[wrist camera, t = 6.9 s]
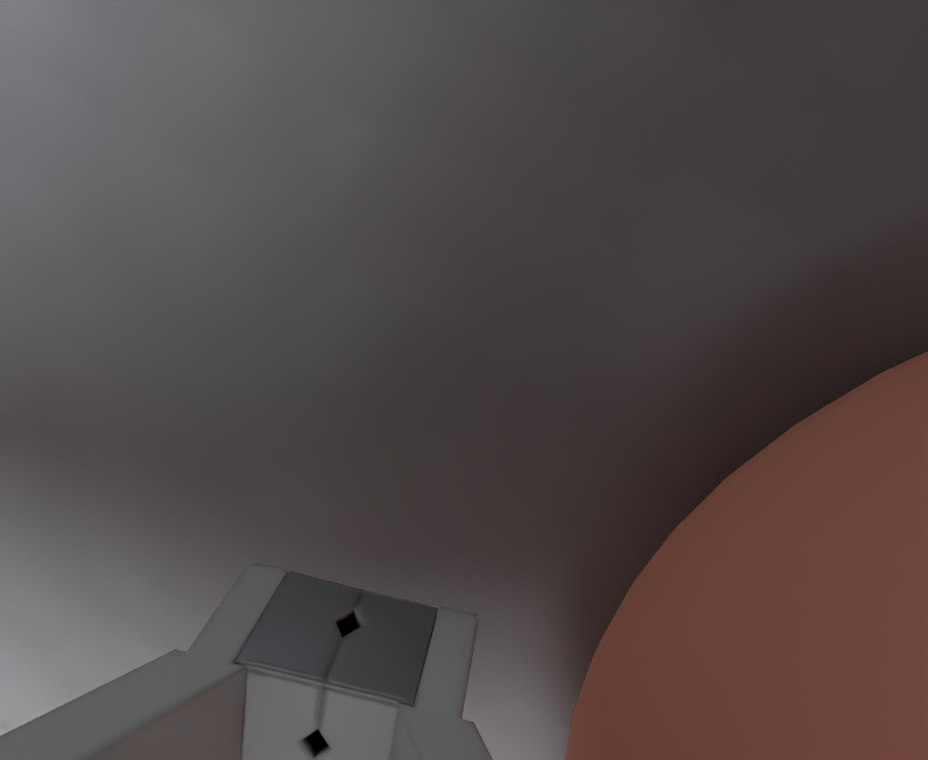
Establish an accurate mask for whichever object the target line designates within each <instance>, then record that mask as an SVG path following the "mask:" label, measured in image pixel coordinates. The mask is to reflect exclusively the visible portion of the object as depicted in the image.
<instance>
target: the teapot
mask: <svg viewBox="0 0 928 760" xmlns="http://www.w3.org/2000/svg"><path fill="white" fill-rule="evenodd" d="M565 760H928V351H927V352H925V353H923V354H921V355H918V356H916V357H914V358H912V359H910V360H908V361H905V362H903V363H901V364H899V365H897V366H895V367H893V368H890V369H888V370H886V371H884V372H882V373H880V374H878V375H876V376H875V377H873V378H871V379H870V380H868V381H866V382H865V383H863V384H861V385H860V386H858V387H856V388H855V389H853V390H851V391H850V392H848V393H847V394H845V395H843V396H842V397H840V398H838V399H837V400H835V401H833V402H832V403H830V404H828V405H827V406H825V407H823V408H822V409H820V410H818V411H817V412H815V413H813V414H812V415H810V416H808V417H807V418H805V419H803V420H802V421H800V422H798V423H797V424H795V425H794V426H793V427H791V428H790V429H789V430H787V431H786V432H785V433H783V434H782V435H781V436H780V437H778V438H777V439H776V440H774V441H773V442H772V443H770V444H769V445H768V446H767V447H765V448H764V449H763V450H761V451H760V452H759V453H757V454H756V455H755V456H754V457H752V458H751V459H750V460H748V461H747V462H746V463H744V464H743V465H742V466H741V467H739V468H738V469H737V470H735V471H734V472H733V473H731V474H730V475H729V476H728V477H726V478H725V479H724V480H723V481H722V482H721V483H720V484H719V485H718V486H717V487H716V488H715V489H714V490H713V491H712V492H711V493H710V494H709V495H708V496H707V497H706V498H705V499H704V500H703V501H702V502H701V503H700V504H699V505H698V506H697V507H696V508H695V509H694V510H693V511H692V512H691V513H690V514H689V515H688V516H687V517H686V518H685V519H684V520H683V521H682V522H681V523H680V524H679V525H678V526H677V527H676V528H675V529H674V530H673V531H672V532H671V534H670V535H669V536H668V538H667V539H666V540H665V541H664V543H663V544H662V545H661V547H660V548H659V549H658V551H657V552H656V553H655V554H654V556H653V557H652V558H651V560H650V561H649V562H648V564H647V565H646V566H645V567H644V569H643V570H642V571H641V573H640V574H639V575H638V576H637V578H636V579H635V580H634V582H633V583H632V585H631V587H630V588H629V590H628V592H627V594H626V596H625V597H624V599H623V601H622V603H621V605H620V606H619V608H618V610H617V612H616V614H615V615H614V617H613V619H612V621H611V622H610V624H609V626H608V628H607V630H606V631H605V633H604V635H603V637H602V639H601V641H600V643H599V645H598V647H597V650H596V652H595V654H594V656H593V658H592V661H591V663H590V666H589V669H588V672H587V674H586V677H585V680H584V683H583V685H582V688H581V691H580V694H579V697H578V699H577V702H576V705H575V708H574V710H573V716H572V721H571V727H570V733H569V738H568V744H567V750H566V756H565Z"/></svg>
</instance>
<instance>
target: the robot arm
mask: <svg viewBox="0 0 928 760" xmlns="http://www.w3.org/2000/svg"><path fill="white" fill-rule="evenodd" d="M437 612H438V613H437ZM477 626H478V617H477V615H476V614H472V613H467V612H462V611H457V610H453V609H448V608H443V607H439V610H438V607H435V606H431V605H427V604H422V603H418V602H413V601H409V600H405V599H400V598H396V597H391V596H387V595H383V594H378V593H374V592H369V591H365V590H361V589H357V588H353V587H349V586H346V585H342V584H338V583H334V582H330V581H326V580H323V579H319V578H315V577H311V576H307V575H303V574H299V573H296V572H292V571H291V572H288V571H285V570H281V569H277V568H273V567H270V566H266V565H262V564H258V563H254V562H253V563H251V564H250V565H249V566H247V567H246V568H244V569H243V571H242V572H241V574H240V575H239V577H238V578H237V579H236V581H235V582H234V584H233V585H232V587H231V588H230V590H229V591H228V593H227V594H226V596H225V597H224V599H223V600H222V601H221V603H220V604H219V606H218V607H217V609H216V610H215V612H214V613H213V615H212V616H211V618H210V619H209V621H208V622H207V623H206V625H205V626H204V628H203V629H202V631H201V632H200V634H199V635H198V637H197V638H196V640H195V641H194V642H193V644H192V645H191V647H190V648H189V650H188V651H187V652H185V651H180V650H176V649H175V650H173V651H171V652H169V653H167V654H165V655H163V656H161V657H159V658H157V659H155V660H153V661H151V662H149V663H147V664H145V665H143V666H141V667H139V668H136V669H134V670H132V671H130V672H128V673H126V674H124V675H122V676H120V677H118V678H116V679H114V680H112V681H110V682H108V683H106V684H104V685H102V686H100V687H98V688H96V689H94V690H92V691H90V692H88V693H86V694H84V695H82V696H80V697H78V698H76V699H74V700H72V701H70V702H68V703H66V704H64V705H62V706H60V707H58V708H56V709H54V710H52V711H50V712H48V713H46V714H44V715H42V716H40V717H38V718H36V719H34V720H32V721H30V722H28V723H26V724H24V725H22V726H19V727H17V728H15V729H13V730H11V731H9V732H7V733H5V734H3V735H1V736H0V760H493V759H492V757H491V755H490V753H489V751H488V749H487V748H486V746H485V744H484V742H483V740H482V738H481V736H480V734H479V732H478V730H477V728H476V726H475V724H474V722H471V721H467V720H463V719H462V714H463V708H464V702H465V696H466V690H467V684H468V678H469V673H470V667H471V661H472V655H473V649H474V643H475V637H476V631H477Z"/></svg>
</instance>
